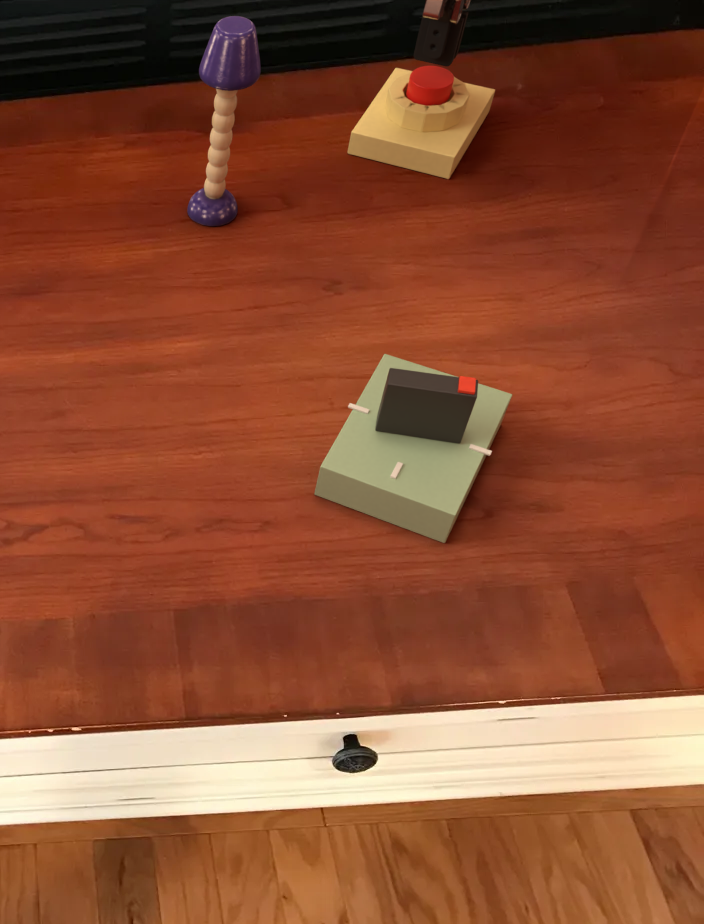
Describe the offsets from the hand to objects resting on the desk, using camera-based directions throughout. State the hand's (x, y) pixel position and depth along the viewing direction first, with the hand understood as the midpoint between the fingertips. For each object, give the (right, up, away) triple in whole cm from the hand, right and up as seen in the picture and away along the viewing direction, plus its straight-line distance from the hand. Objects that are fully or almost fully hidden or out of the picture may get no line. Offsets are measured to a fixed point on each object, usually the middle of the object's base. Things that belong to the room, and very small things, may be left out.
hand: (434, 57), depth 96 cm
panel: (-8, -35, -17) cm, 40 cm away
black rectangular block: (-9, -33, -19) cm, 39 cm away
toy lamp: (-18, -13, +2) cm, 22 cm away
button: (0, -2, +3) cm, 3 cm away
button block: (+1, -4, +5) cm, 7 cm away
